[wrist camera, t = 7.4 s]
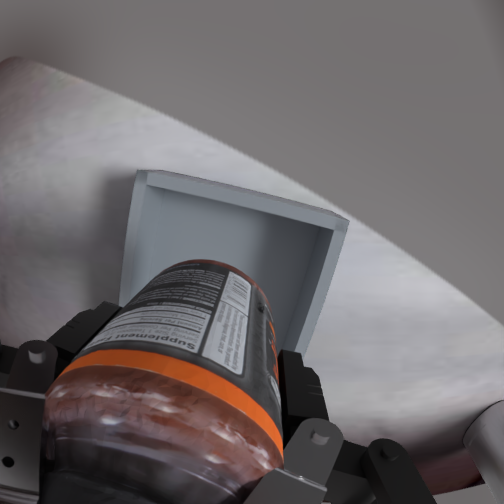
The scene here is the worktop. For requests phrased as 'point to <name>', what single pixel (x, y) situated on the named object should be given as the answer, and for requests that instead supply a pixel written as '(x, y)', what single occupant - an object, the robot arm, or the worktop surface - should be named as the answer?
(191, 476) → the supplement bottle
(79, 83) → the worktop surface
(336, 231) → the tote
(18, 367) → the robot arm
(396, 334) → the worktop surface
